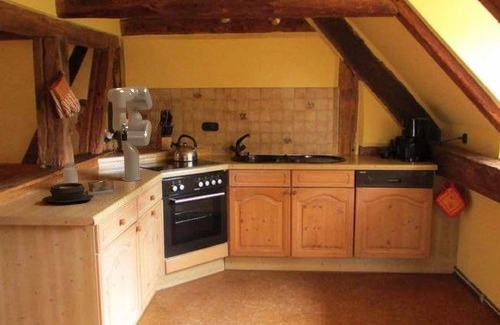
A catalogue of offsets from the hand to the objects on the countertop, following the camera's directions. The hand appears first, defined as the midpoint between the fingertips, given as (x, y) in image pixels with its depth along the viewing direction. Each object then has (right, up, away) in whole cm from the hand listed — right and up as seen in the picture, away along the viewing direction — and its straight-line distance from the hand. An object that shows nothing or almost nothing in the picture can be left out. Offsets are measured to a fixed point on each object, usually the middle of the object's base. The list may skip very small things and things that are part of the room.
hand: (120, 140), depth 256 cm
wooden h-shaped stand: (-8, -29, -11) cm, 32 cm away
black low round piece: (-17, -33, -33) cm, 50 cm away
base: (-8, -30, -11) cm, 33 cm away
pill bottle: (-30, -29, +1) cm, 41 cm away
